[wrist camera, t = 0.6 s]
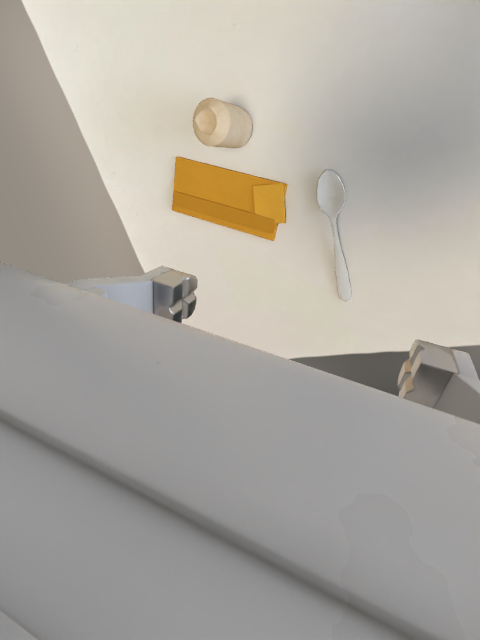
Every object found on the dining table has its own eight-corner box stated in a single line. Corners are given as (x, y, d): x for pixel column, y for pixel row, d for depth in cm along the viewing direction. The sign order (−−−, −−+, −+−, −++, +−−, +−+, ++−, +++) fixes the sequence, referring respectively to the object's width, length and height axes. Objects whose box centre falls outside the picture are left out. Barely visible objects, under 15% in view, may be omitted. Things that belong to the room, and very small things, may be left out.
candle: (216, 140, 52) (183, 137, 44) (226, 101, 49) (192, 89, 41) (246, 153, 51) (218, 152, 43) (258, 114, 48) (230, 104, 40)
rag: (177, 155, 56) (174, 155, 55) (295, 185, 50) (294, 185, 50) (173, 209, 60) (170, 210, 60) (281, 242, 55) (279, 243, 54)
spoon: (342, 165, 47) (341, 165, 46) (359, 299, 54) (358, 303, 52) (314, 173, 49) (311, 173, 47) (333, 302, 56) (332, 305, 54)
